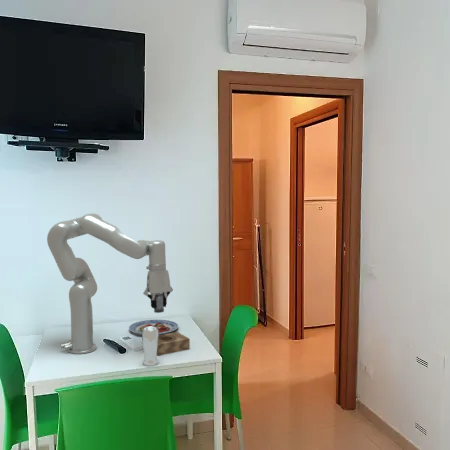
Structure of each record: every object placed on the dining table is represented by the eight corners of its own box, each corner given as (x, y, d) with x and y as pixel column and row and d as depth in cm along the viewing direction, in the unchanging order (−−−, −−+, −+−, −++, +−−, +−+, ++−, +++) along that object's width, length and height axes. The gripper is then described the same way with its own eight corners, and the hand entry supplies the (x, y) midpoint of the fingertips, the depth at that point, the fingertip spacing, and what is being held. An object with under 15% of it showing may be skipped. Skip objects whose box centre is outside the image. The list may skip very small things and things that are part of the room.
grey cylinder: (156, 313, 204) (155, 295, 203) (152, 311, 208) (152, 294, 207) (165, 311, 206) (164, 294, 206) (161, 309, 210) (160, 292, 209)
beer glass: (159, 360, 196) (159, 326, 194) (157, 366, 189) (157, 331, 188) (143, 360, 195) (143, 326, 194) (141, 366, 188) (140, 331, 187)
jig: (153, 356, 199) (153, 344, 199) (143, 348, 210) (142, 336, 209) (189, 349, 209) (189, 337, 209) (177, 341, 219) (177, 330, 219)
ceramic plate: (172, 321, 255) (172, 316, 254) (183, 335, 230) (183, 329, 230) (126, 325, 246) (126, 320, 246) (132, 340, 222) (132, 334, 222)
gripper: (143, 271, 198) (144, 311, 199) (177, 266, 207) (179, 306, 208) (137, 268, 204) (138, 308, 206) (170, 264, 213) (172, 302, 214)
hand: (158, 306), depth 207 cm, fingers closed on grey cylinder, 4 cm apart
